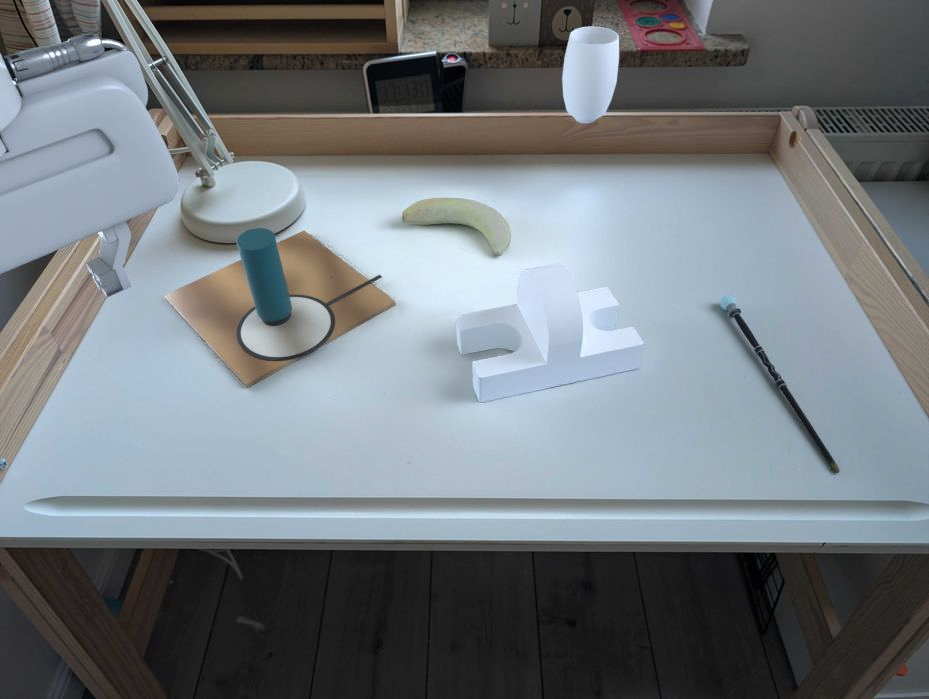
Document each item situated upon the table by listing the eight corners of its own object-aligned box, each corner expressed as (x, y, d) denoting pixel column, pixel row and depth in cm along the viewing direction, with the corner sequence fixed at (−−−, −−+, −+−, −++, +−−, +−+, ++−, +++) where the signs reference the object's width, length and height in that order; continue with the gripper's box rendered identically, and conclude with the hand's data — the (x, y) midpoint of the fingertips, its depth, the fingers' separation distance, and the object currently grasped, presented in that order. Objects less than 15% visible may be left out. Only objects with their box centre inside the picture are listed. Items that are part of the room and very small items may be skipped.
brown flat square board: (250, 391, 76) (248, 386, 76) (165, 299, 87) (163, 294, 87) (409, 301, 86) (408, 296, 86) (315, 229, 97) (314, 224, 97)
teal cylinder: (270, 332, 82) (248, 254, 74) (252, 315, 84) (229, 238, 76) (300, 316, 83) (281, 239, 76) (282, 300, 86) (262, 223, 78)
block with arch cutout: (603, 311, 84) (615, 233, 77) (639, 368, 77) (656, 289, 70) (455, 340, 81) (452, 262, 73) (479, 403, 74) (478, 324, 67)
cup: (562, 163, 109) (575, 21, 94) (609, 172, 106) (629, 29, 92) (547, 187, 104) (557, 41, 89) (595, 197, 102) (614, 50, 87)
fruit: (427, 202, 101) (426, 182, 99) (524, 231, 96) (525, 210, 94) (400, 229, 97) (398, 208, 95) (500, 260, 92) (500, 238, 89)
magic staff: (831, 480, 68) (827, 473, 67) (720, 305, 85) (715, 297, 84) (849, 471, 67) (845, 464, 66) (734, 297, 85) (729, 289, 83)
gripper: (98, 7, 37) (177, 227, 47) (-419, 144, 28) (-185, 388, 37) (154, 39, 34) (226, 269, 44) (-411, 209, 24) (-157, 458, 34)
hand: (34, 325), depth 40 cm, fingers open, 8 cm apart
